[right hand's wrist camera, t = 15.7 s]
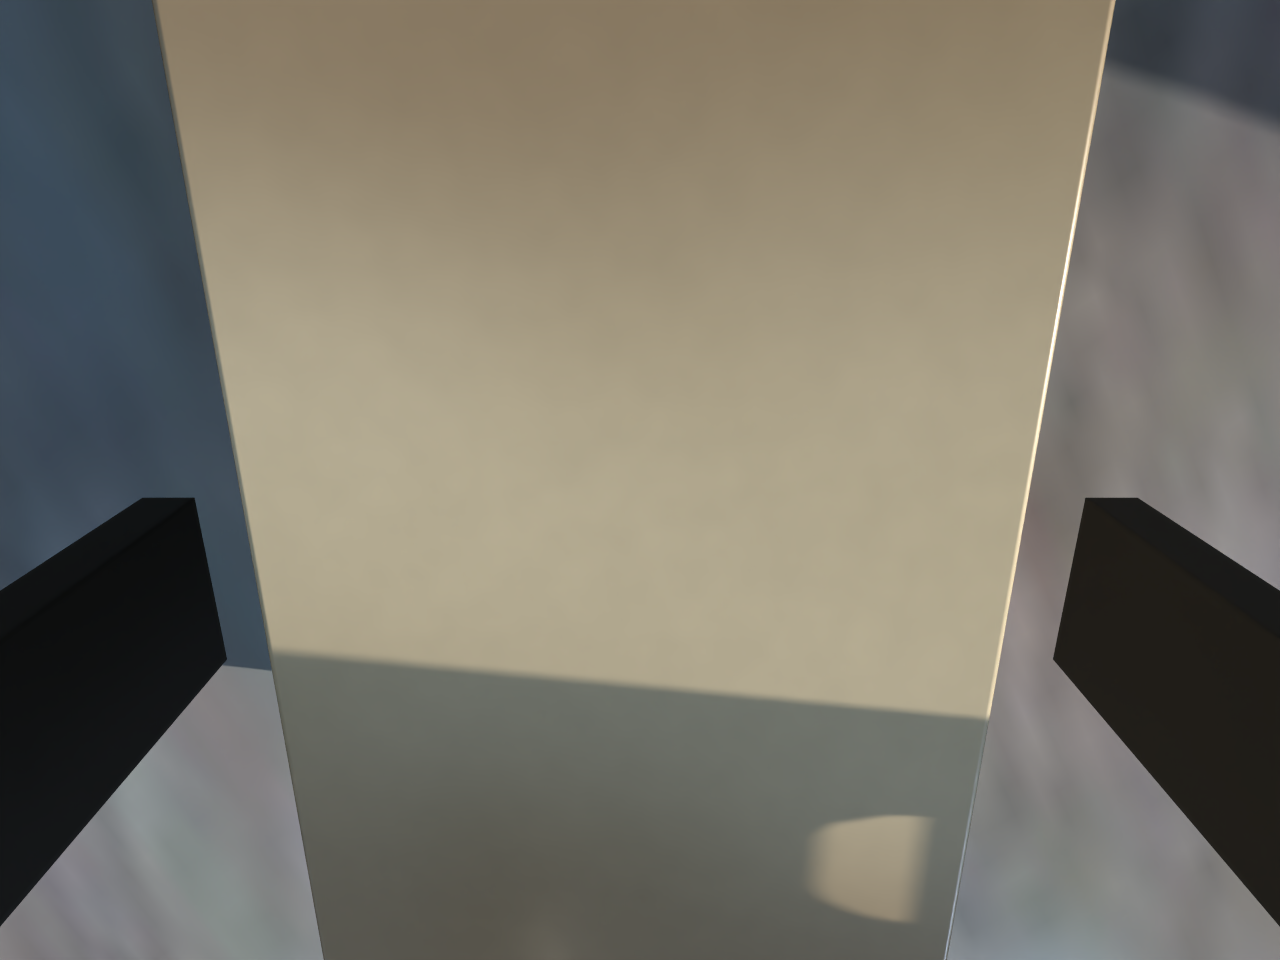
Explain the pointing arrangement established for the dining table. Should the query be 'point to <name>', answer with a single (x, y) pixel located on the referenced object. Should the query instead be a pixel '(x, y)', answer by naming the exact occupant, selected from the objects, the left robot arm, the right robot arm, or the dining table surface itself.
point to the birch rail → (634, 445)
